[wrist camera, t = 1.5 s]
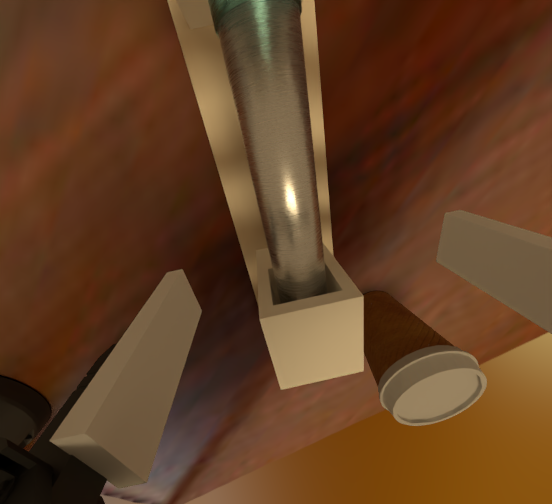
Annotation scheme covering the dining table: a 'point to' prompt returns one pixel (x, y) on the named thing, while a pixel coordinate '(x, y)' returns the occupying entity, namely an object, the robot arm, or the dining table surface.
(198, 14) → the socket
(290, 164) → the tube
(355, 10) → the dining table surface
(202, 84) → the board
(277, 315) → the sleeve
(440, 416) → the disposable coffee cup
